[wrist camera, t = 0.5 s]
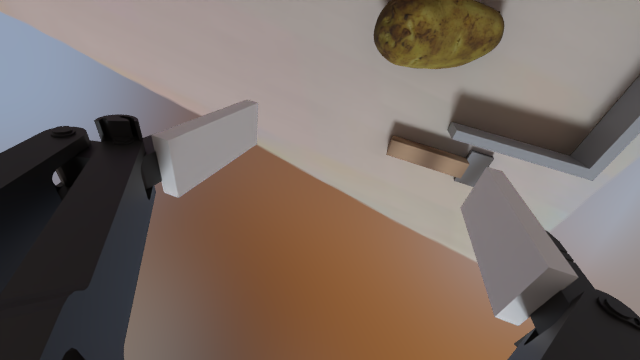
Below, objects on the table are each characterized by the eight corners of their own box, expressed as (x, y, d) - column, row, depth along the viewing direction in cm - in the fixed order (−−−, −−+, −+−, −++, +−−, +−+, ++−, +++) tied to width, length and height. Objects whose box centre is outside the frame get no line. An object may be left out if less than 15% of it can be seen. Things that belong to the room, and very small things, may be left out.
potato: (457, 91, 32) (470, 104, 25) (369, 49, 33) (360, 50, 26) (506, 21, 27) (539, 14, 21) (403, -26, 28) (403, -49, 21)
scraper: (384, 156, 39) (383, 161, 37) (396, 127, 36) (395, 131, 34) (473, 184, 37) (477, 192, 35) (492, 156, 34) (497, 163, 32)
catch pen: (549, -66, 23) (573, -85, 20) (751, -33, 21) (816, -48, 18) (447, 129, 34) (452, 138, 31) (573, 166, 32) (592, 180, 29)
